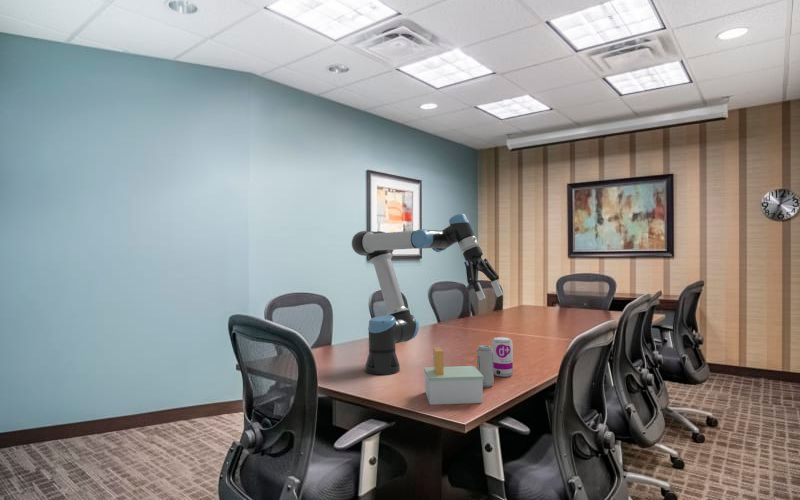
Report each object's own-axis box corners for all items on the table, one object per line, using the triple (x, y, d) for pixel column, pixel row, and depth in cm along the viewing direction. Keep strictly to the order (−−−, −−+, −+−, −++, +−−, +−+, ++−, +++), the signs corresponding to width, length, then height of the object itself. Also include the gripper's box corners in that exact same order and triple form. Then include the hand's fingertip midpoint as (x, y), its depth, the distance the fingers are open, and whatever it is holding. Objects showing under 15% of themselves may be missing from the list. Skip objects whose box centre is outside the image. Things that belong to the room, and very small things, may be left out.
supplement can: (513, 377, 184) (512, 340, 185) (492, 376, 186) (492, 340, 186) (512, 372, 192) (511, 337, 193) (492, 371, 194) (492, 336, 194)
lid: (429, 383, 152) (428, 354, 152) (424, 372, 166) (423, 345, 167) (483, 382, 153) (483, 352, 153) (474, 371, 168) (473, 344, 168)
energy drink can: (476, 383, 176) (475, 345, 177) (491, 383, 177) (490, 344, 177) (479, 388, 170) (479, 348, 171) (495, 387, 171) (495, 347, 171)
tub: (430, 404, 152) (429, 380, 152) (425, 392, 166) (424, 370, 166) (482, 402, 153) (482, 379, 153) (473, 390, 167) (473, 368, 167)
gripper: (460, 245, 174) (482, 296, 168) (493, 245, 192) (514, 291, 186) (446, 254, 178) (467, 304, 172) (480, 252, 197) (499, 298, 191)
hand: (491, 297), depth 179 cm, fingers open, 13 cm apart
